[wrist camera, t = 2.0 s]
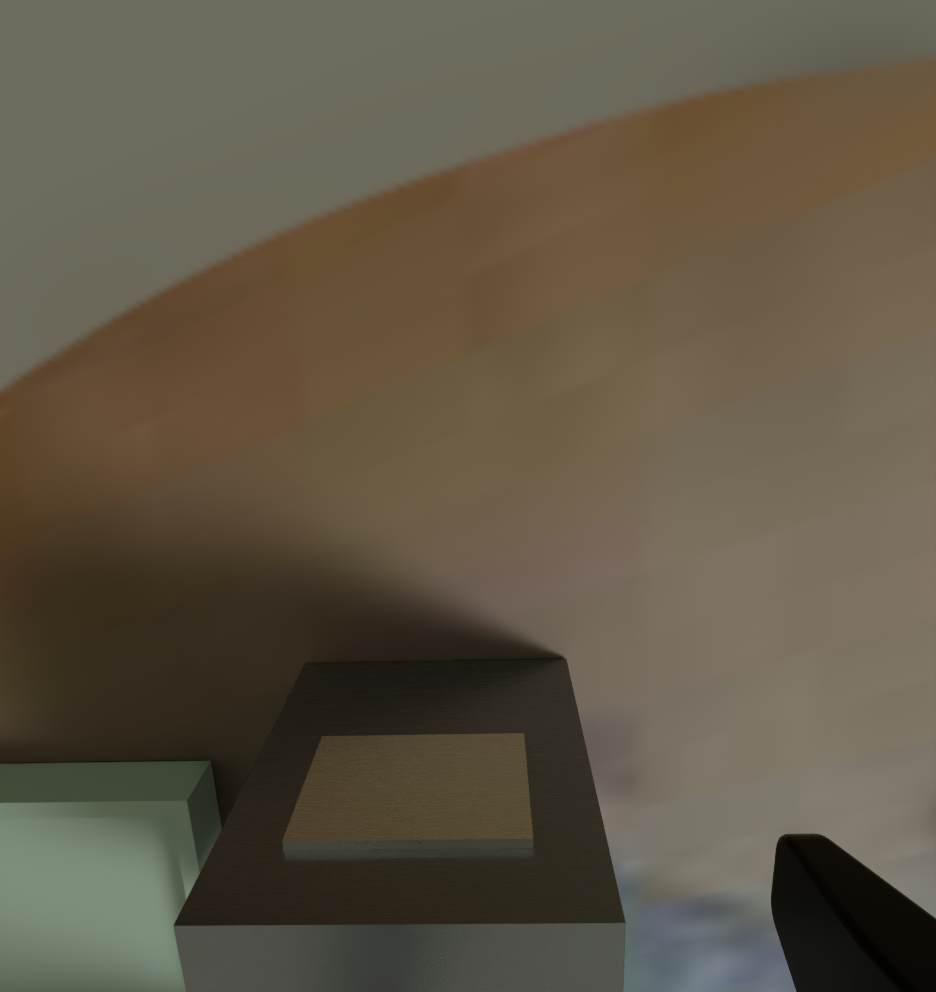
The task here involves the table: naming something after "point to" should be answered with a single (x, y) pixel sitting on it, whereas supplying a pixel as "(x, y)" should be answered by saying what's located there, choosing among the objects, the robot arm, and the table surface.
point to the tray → (99, 872)
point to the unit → (413, 841)
